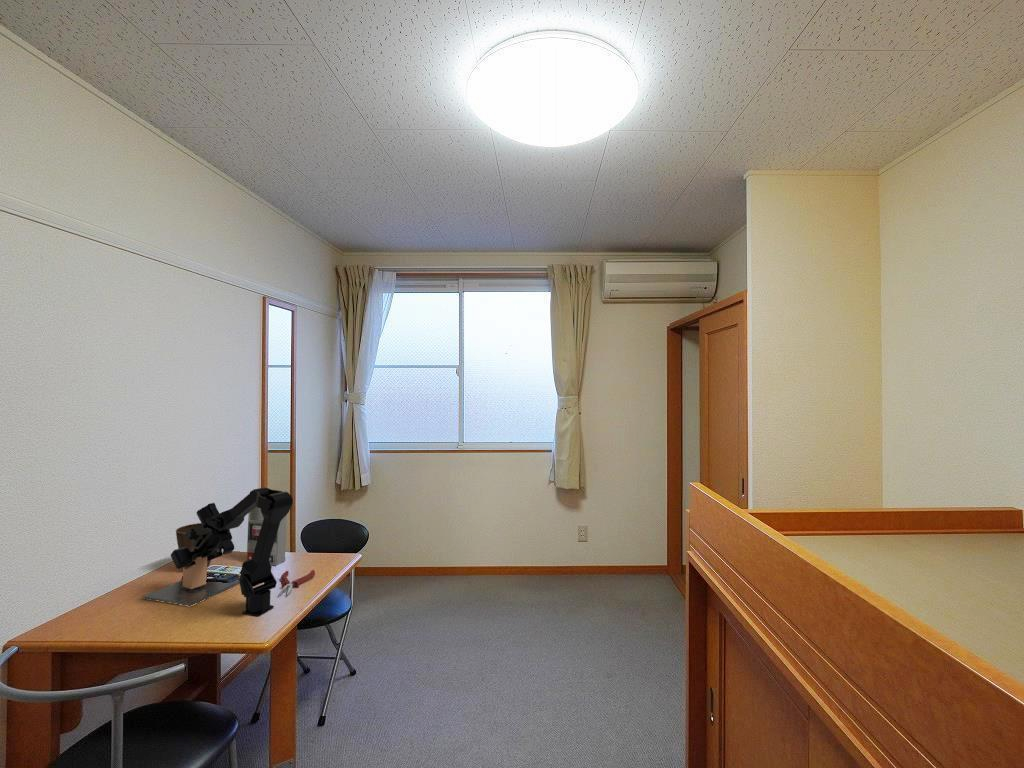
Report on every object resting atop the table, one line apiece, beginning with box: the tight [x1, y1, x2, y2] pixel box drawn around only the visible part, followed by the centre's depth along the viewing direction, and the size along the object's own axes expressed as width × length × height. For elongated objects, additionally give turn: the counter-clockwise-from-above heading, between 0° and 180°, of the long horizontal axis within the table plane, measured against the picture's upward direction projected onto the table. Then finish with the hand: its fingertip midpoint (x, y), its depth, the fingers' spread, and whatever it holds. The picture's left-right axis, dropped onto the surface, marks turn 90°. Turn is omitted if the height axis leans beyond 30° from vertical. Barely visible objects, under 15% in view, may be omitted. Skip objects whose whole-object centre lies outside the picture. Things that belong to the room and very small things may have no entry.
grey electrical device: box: [244, 507, 288, 566], centre depth 186 cm, size 14×6×25 cm, turn 82°
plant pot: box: [175, 522, 212, 568], centre depth 178 cm, size 15×15×16 cm
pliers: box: [277, 569, 316, 597], centre depth 164 cm, size 12×20×3 cm, turn 9°
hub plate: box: [142, 579, 240, 606], centre depth 158 cm, size 20×20×6 cm
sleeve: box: [182, 557, 208, 589], centre depth 158 cm, size 5×5×11 cm
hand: (192, 565), depth 158 cm, fingers closed on sleeve, 5 cm apart
